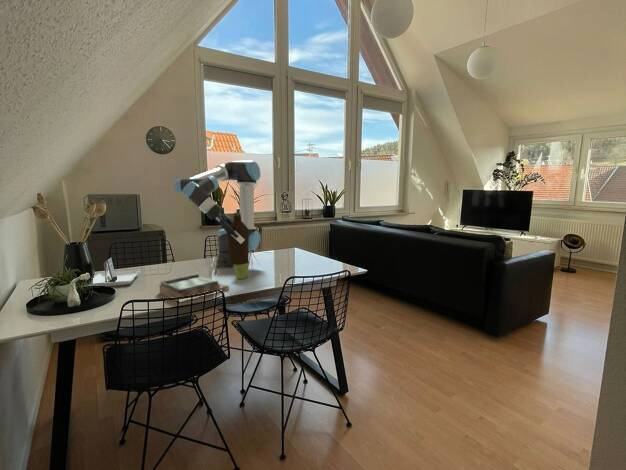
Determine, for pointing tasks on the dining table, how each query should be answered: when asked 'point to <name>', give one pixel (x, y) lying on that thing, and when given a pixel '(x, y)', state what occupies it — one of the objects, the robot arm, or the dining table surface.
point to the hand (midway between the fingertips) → (244, 239)
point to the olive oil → (237, 250)
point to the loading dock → (190, 286)
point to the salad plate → (122, 278)
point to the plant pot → (241, 270)
